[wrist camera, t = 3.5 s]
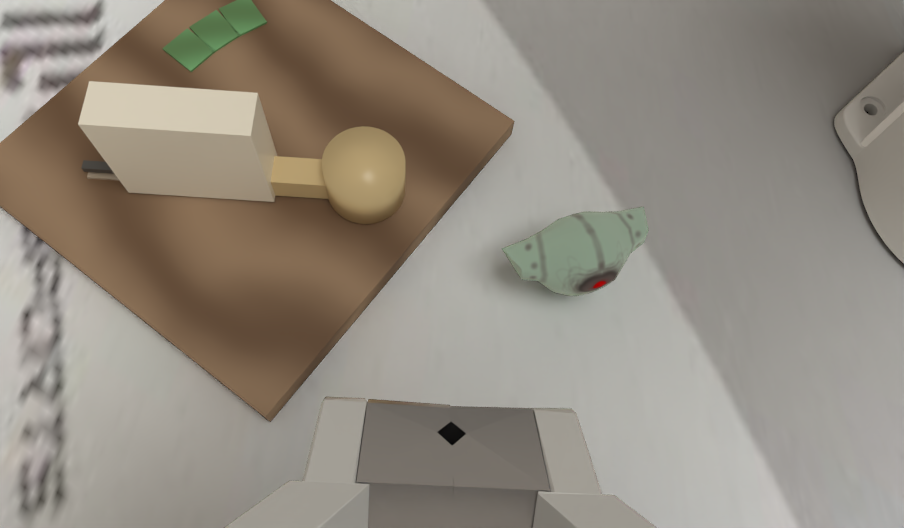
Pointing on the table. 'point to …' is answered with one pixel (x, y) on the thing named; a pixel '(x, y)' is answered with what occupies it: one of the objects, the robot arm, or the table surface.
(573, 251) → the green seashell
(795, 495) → the table surface
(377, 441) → the robot arm
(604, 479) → the table surface
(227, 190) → the toy meat cleaver
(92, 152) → the brown wooden board
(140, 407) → the table surface
